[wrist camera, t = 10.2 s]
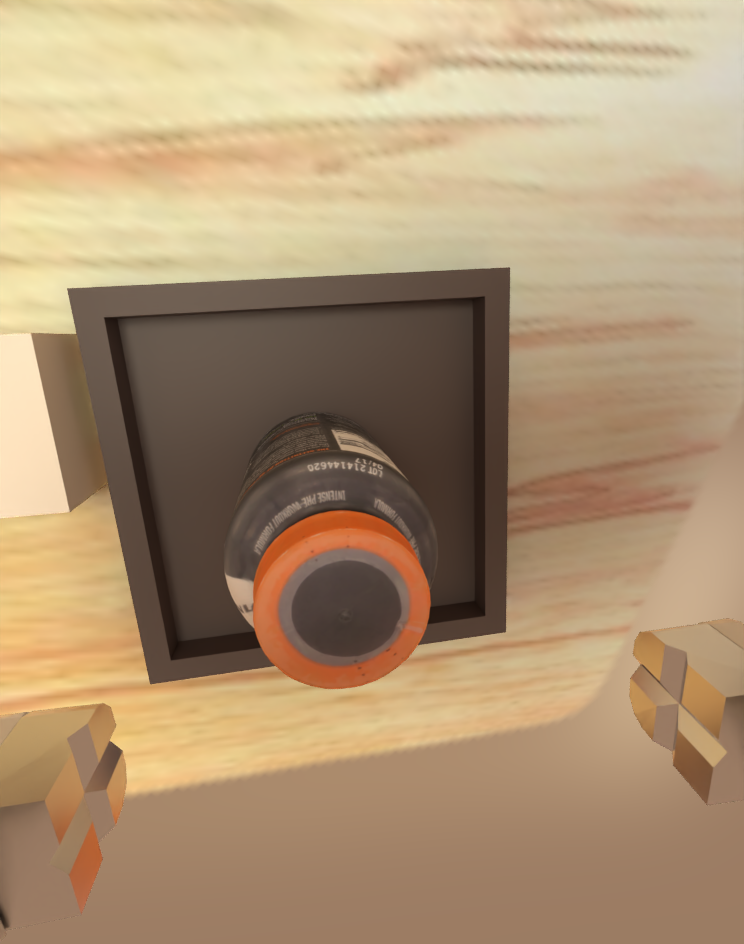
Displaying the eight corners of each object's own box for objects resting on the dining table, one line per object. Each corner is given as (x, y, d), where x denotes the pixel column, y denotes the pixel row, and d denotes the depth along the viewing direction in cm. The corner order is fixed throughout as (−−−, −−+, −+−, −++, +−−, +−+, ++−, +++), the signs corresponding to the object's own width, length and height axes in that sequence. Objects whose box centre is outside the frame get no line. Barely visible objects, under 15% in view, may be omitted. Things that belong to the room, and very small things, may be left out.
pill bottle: (259, 551, 22) (227, 754, 11) (236, 419, 21) (173, 508, 10) (391, 531, 23) (480, 704, 12) (379, 402, 21) (468, 466, 10)
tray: (490, 274, 21) (509, 267, 19) (489, 610, 25) (505, 632, 23) (89, 293, 19) (67, 288, 17) (162, 656, 23) (150, 684, 21)
